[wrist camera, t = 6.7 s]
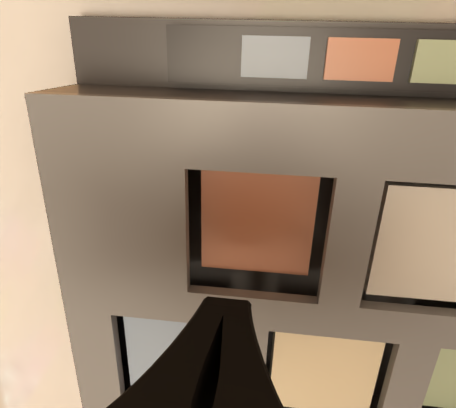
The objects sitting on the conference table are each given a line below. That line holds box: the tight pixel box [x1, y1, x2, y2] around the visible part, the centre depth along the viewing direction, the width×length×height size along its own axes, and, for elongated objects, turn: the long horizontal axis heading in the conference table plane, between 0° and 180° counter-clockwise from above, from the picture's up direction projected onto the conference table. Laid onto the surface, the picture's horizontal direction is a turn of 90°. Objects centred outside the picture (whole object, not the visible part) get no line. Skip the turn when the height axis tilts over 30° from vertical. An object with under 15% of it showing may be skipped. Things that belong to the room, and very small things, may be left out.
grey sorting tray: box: [24, 16, 456, 408], centre depth 16 cm, size 22×18×4 cm
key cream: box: [364, 181, 456, 302], centre depth 14 cm, size 4×4×2 cm
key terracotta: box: [201, 170, 321, 276], centre depth 15 cm, size 4×4×2 cm
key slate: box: [123, 316, 187, 385], centre depth 17 cm, size 4×4×2 cm
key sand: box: [269, 332, 386, 408], centre depth 16 cm, size 4×4×2 cm
